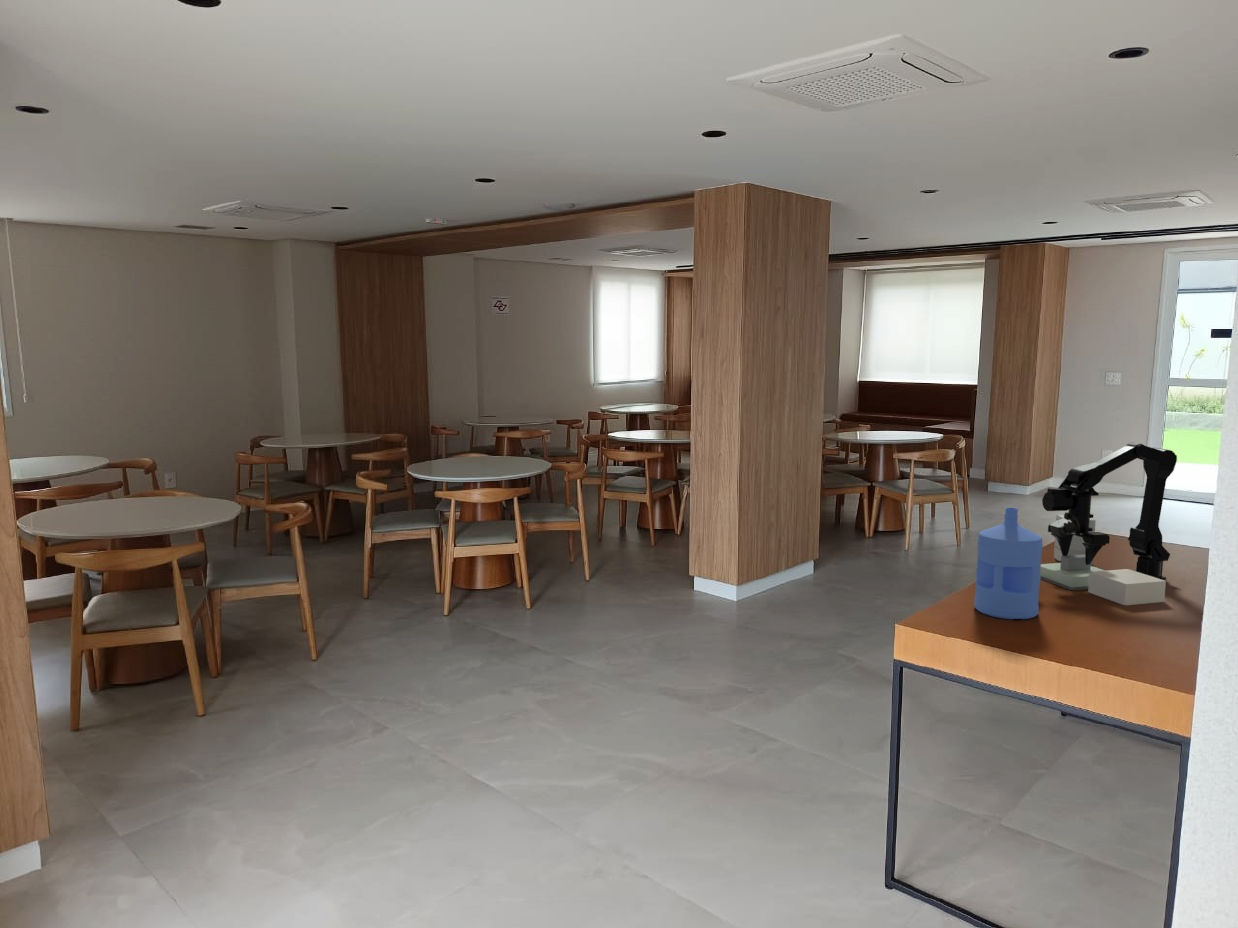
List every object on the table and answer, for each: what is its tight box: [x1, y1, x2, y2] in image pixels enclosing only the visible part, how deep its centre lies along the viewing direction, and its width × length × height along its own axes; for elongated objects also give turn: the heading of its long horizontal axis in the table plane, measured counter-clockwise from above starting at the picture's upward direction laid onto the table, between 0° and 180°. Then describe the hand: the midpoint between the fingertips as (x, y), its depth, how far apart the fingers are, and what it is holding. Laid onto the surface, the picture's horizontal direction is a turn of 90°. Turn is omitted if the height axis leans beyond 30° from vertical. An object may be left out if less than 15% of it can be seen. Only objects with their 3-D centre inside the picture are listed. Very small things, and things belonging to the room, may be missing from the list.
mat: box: [1041, 576, 1089, 591], centre depth 252 cm, size 18×18×1 cm
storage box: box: [1087, 568, 1167, 606], centre depth 234 cm, size 13×13×6 cm
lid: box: [1040, 554, 1106, 588], centre depth 251 cm, size 15×15×7 cm
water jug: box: [973, 507, 1043, 620], centre depth 221 cm, size 16×16×28 cm
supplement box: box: [1053, 514, 1097, 566], centre depth 273 cm, size 9×9×15 cm
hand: (1076, 560), depth 251 cm, fingers open, 9 cm apart
